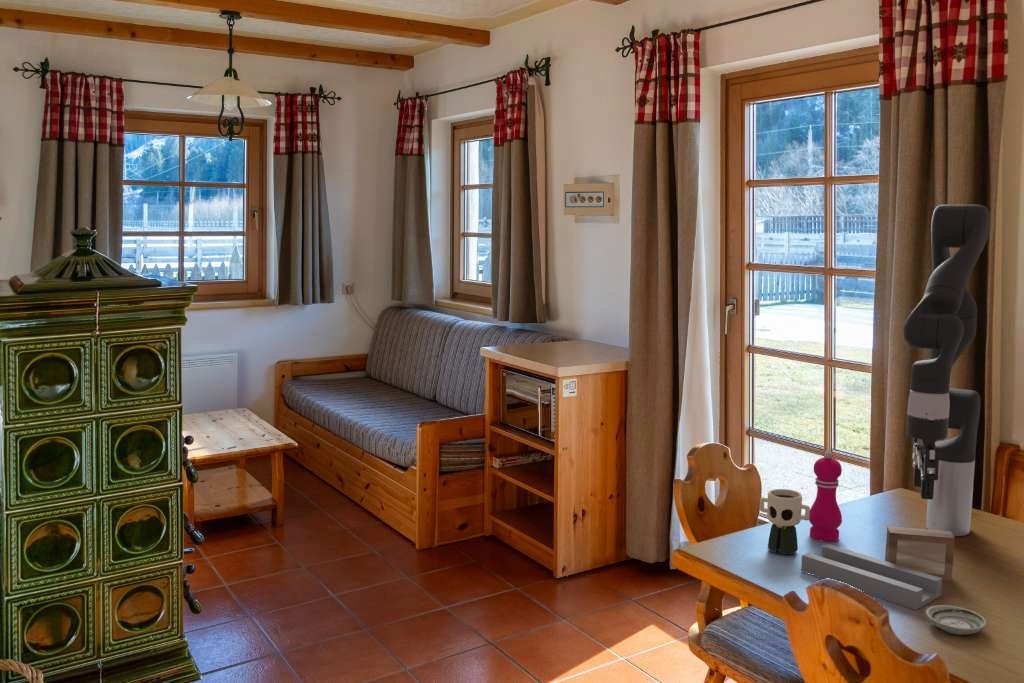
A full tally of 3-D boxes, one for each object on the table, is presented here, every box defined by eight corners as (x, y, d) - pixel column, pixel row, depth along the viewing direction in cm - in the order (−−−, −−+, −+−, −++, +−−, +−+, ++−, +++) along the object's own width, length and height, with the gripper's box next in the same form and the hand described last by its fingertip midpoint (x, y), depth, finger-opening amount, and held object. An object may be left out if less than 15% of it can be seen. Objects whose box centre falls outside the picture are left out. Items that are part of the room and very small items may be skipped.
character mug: (752, 550, 198) (754, 493, 196) (763, 541, 204) (766, 485, 202) (802, 561, 192) (805, 502, 190) (812, 551, 197) (815, 493, 196)
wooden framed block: (884, 567, 189) (887, 526, 187) (947, 573, 186) (950, 531, 184) (887, 575, 185) (890, 533, 183) (951, 581, 182) (954, 538, 180)
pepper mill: (843, 543, 202) (848, 456, 200) (809, 541, 204) (813, 454, 201) (838, 532, 209) (842, 448, 207) (805, 530, 211) (809, 446, 208)
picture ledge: (827, 559, 193) (828, 543, 192) (941, 595, 175) (942, 578, 174) (801, 571, 186) (801, 555, 186) (916, 610, 168) (917, 592, 168)
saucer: (958, 646, 155) (959, 632, 154) (912, 622, 163) (913, 610, 163) (998, 635, 158) (999, 622, 158) (951, 613, 167) (952, 601, 167)
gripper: (902, 405, 188) (897, 481, 191) (913, 419, 175) (908, 501, 177) (941, 407, 187) (936, 484, 189) (956, 422, 173) (950, 504, 175)
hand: (922, 492), depth 183 cm, fingers open, 8 cm apart
